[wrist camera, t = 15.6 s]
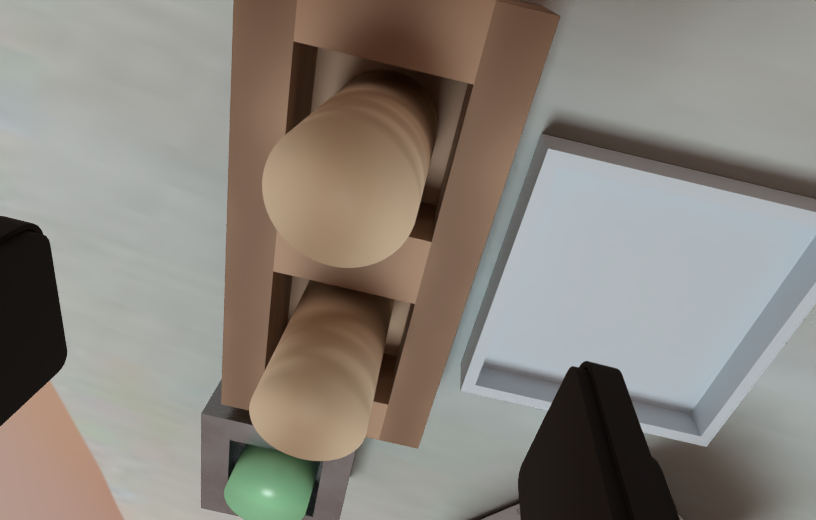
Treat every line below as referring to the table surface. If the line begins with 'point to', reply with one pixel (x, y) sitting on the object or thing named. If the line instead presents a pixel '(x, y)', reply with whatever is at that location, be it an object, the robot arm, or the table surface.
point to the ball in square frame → (234, 428)
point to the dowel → (353, 171)
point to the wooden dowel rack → (443, 192)
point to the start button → (270, 485)
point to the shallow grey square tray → (643, 286)
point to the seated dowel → (323, 374)
